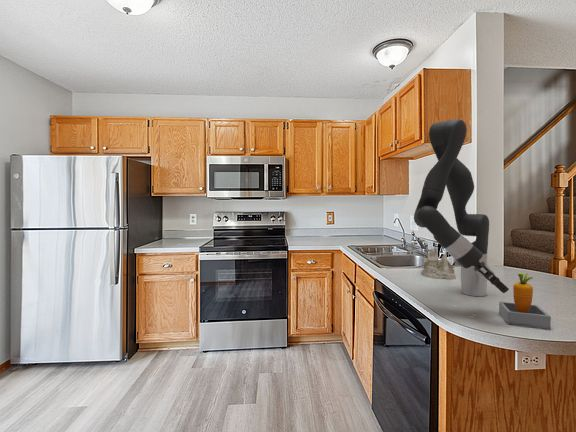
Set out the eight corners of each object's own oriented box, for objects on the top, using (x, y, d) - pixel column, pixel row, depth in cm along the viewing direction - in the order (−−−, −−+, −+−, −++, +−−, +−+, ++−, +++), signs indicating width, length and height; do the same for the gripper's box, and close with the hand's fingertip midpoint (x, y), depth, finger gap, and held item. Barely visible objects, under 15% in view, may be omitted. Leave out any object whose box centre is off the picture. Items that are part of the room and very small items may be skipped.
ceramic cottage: (455, 280, 147) (454, 249, 147) (419, 277, 155) (418, 248, 156) (456, 275, 160) (455, 247, 161) (422, 273, 169) (422, 246, 169)
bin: (499, 312, 104) (499, 301, 104) (537, 317, 100) (537, 305, 100) (507, 324, 94) (508, 311, 94) (550, 329, 90) (550, 316, 90)
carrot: (523, 315, 100) (524, 270, 99) (536, 321, 95) (537, 273, 94) (508, 315, 100) (509, 270, 99) (520, 321, 95) (521, 274, 94)
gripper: (476, 246, 95) (519, 286, 91) (468, 241, 108) (505, 275, 104) (457, 262, 97) (498, 301, 93) (451, 255, 110) (487, 289, 107)
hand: (502, 287), depth 99 cm, fingers open, 8 cm apart
